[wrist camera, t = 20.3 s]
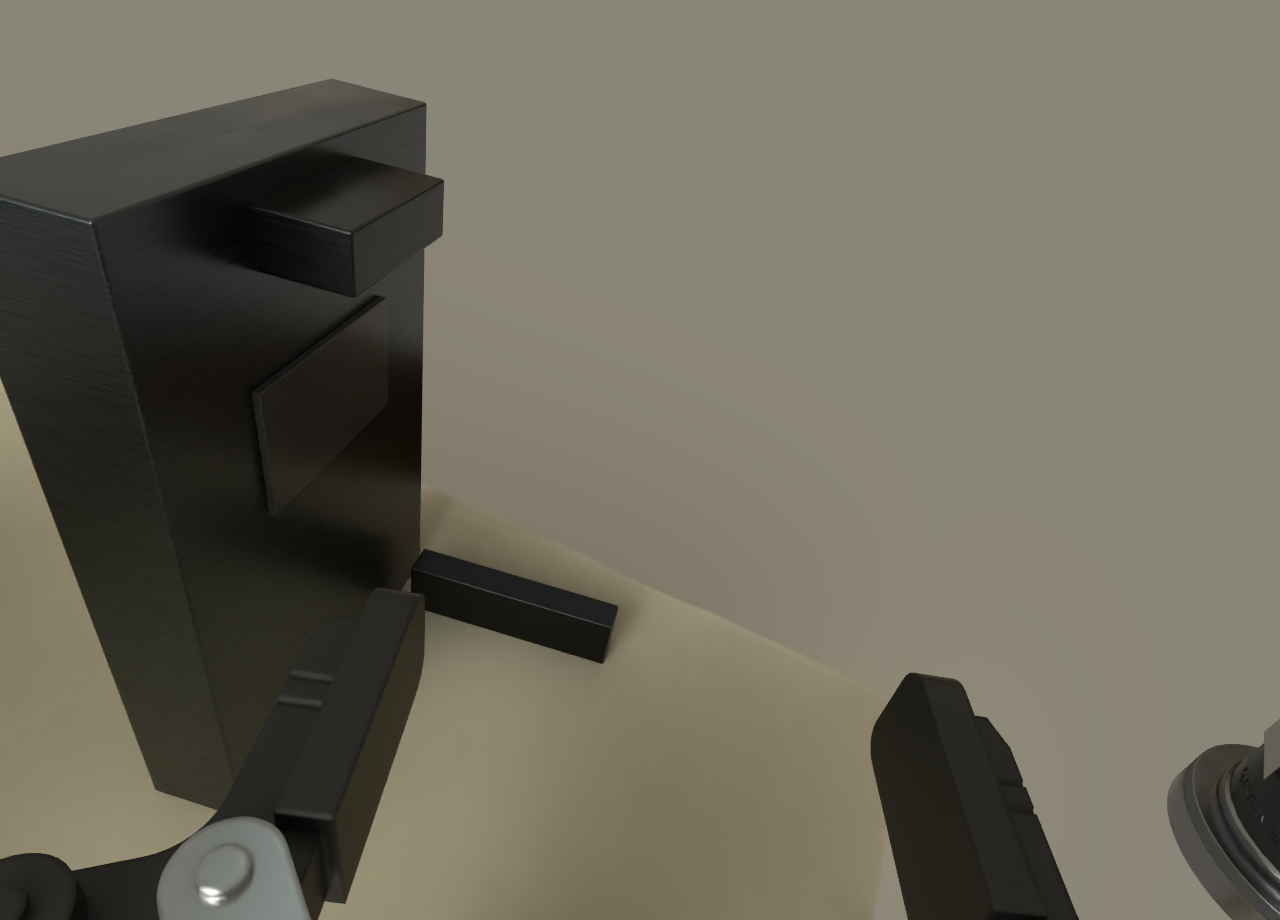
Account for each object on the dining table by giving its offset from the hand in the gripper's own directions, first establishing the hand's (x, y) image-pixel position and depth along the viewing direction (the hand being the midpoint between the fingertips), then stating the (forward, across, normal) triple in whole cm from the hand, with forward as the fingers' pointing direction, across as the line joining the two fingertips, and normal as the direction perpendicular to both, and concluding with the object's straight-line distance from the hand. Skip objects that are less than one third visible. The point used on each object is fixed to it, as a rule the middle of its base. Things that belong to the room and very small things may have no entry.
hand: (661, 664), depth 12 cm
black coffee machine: (+14, +8, +23) cm, 28 cm away
